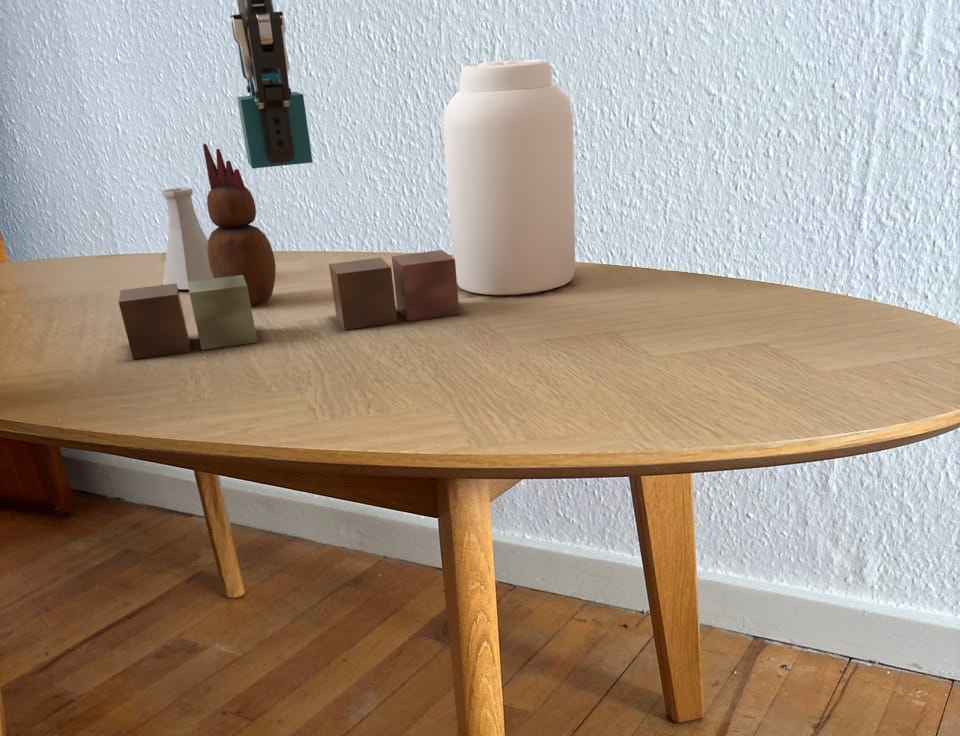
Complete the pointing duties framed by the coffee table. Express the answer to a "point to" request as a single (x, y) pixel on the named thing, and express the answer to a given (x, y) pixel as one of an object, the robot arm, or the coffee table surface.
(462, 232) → the white jar
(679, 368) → the coffee table surface
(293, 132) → the teal block
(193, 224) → the flask
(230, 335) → the block row
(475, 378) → the coffee table surface
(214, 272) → the wooden figurine
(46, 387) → the coffee table surface
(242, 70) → the robot arm
